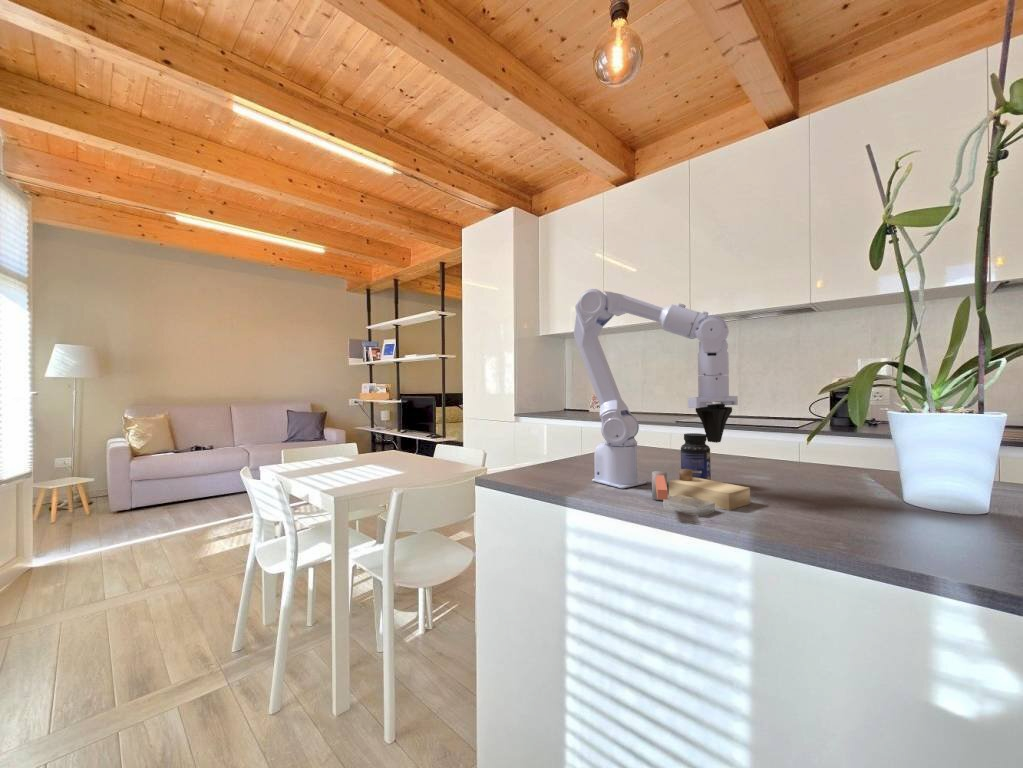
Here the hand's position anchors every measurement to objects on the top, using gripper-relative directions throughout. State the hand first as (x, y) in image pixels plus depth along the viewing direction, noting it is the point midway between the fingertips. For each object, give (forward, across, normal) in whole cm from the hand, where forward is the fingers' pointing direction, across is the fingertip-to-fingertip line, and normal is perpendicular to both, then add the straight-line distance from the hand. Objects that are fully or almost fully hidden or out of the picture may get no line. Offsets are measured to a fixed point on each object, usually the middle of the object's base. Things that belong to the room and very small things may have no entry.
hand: (714, 441), depth 90 cm
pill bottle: (+11, +4, +7) cm, 13 cm away
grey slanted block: (+9, -14, -4) cm, 17 cm away
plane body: (+10, -6, -2) cm, 12 cm away
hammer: (+10, -17, 0) cm, 20 cm away
